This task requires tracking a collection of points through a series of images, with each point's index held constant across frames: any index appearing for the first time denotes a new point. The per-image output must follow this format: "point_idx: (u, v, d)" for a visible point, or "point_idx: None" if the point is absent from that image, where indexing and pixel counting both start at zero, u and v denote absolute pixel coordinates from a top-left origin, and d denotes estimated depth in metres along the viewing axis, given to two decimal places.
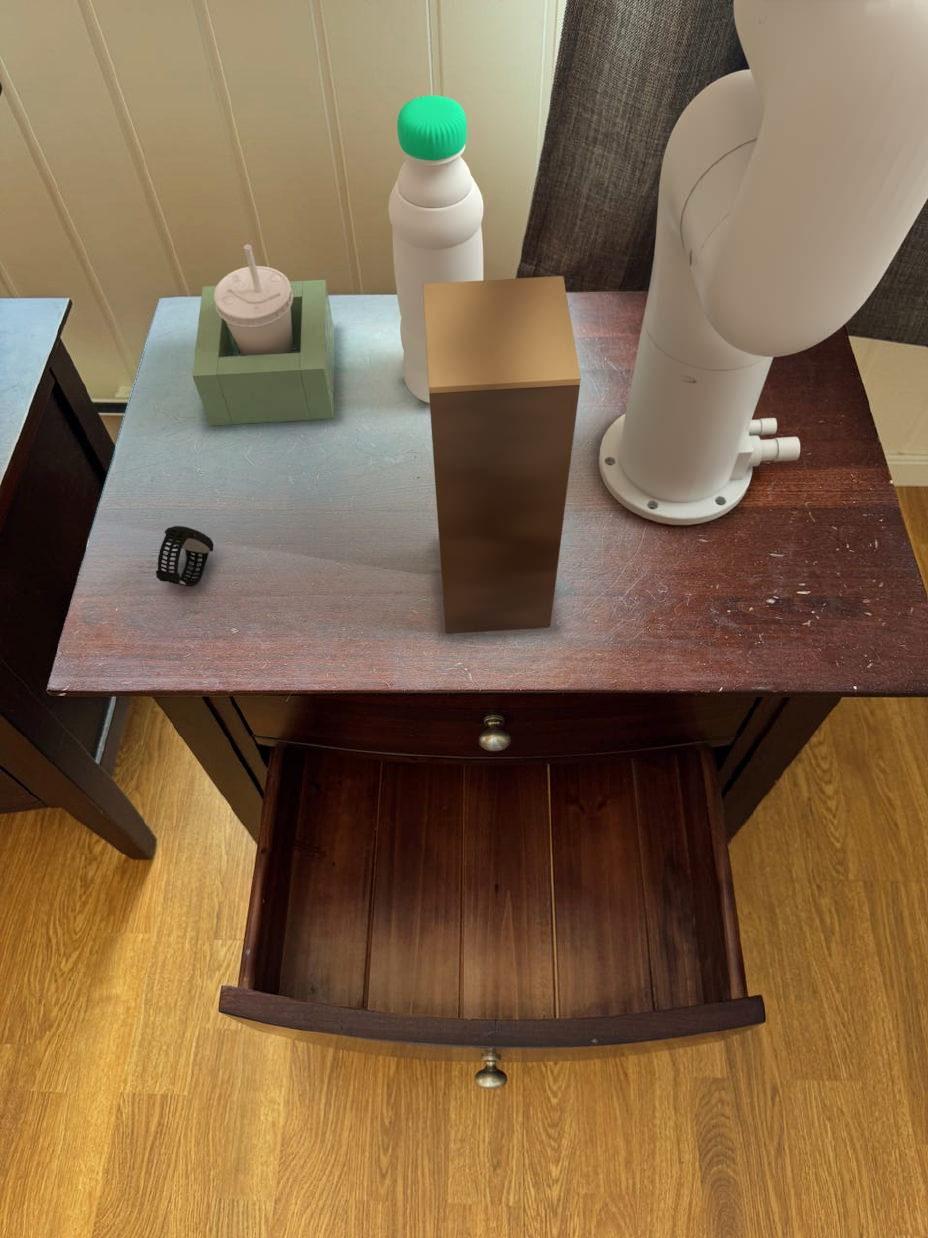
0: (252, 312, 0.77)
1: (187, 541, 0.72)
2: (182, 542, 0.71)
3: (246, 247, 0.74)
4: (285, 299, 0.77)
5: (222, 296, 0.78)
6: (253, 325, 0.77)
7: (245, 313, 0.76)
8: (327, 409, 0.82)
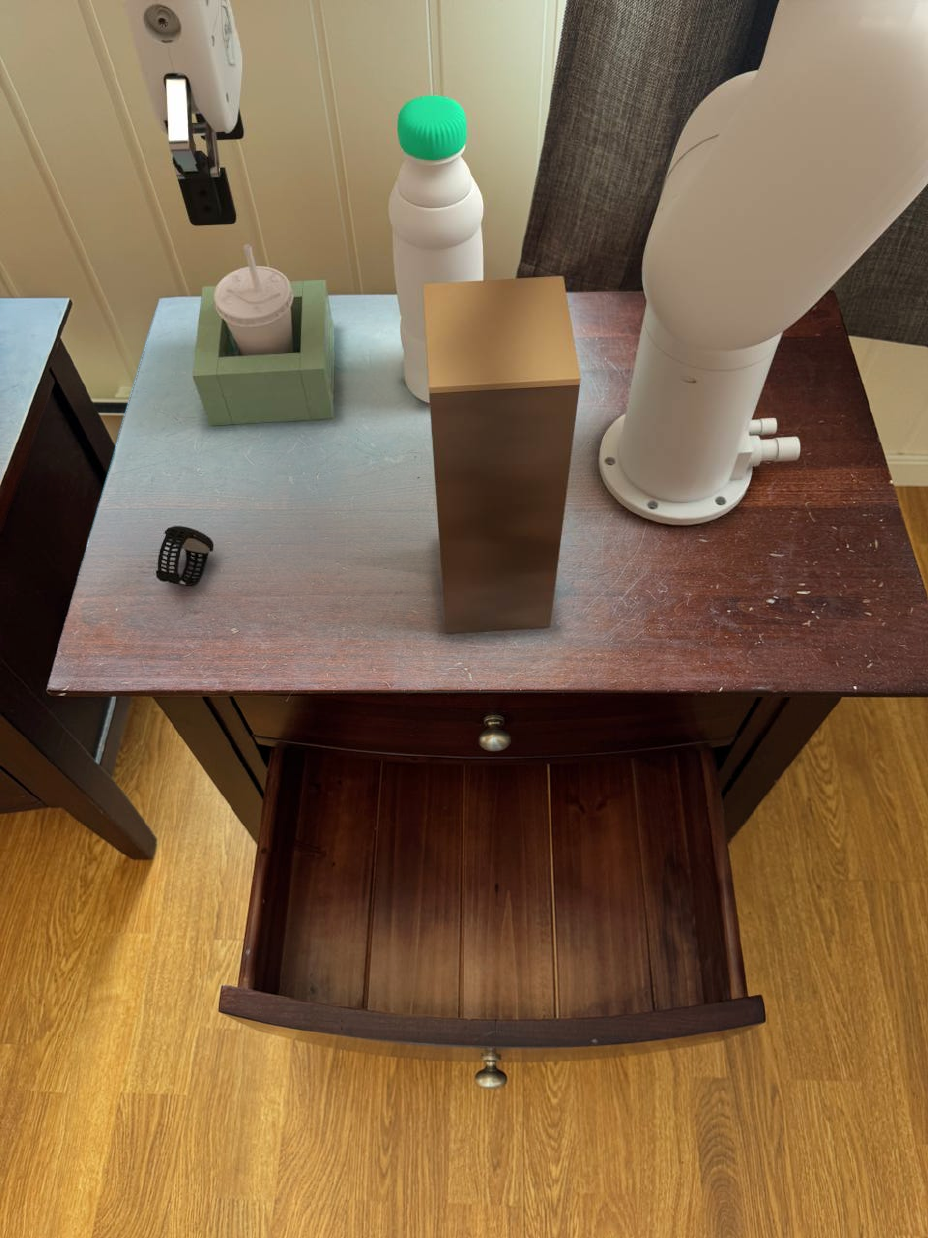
0: (252, 312, 0.77)
1: (187, 541, 0.72)
2: (182, 542, 0.71)
3: (246, 247, 0.74)
4: (285, 299, 0.77)
5: (222, 296, 0.78)
6: (253, 325, 0.77)
7: (245, 313, 0.76)
8: (327, 409, 0.82)
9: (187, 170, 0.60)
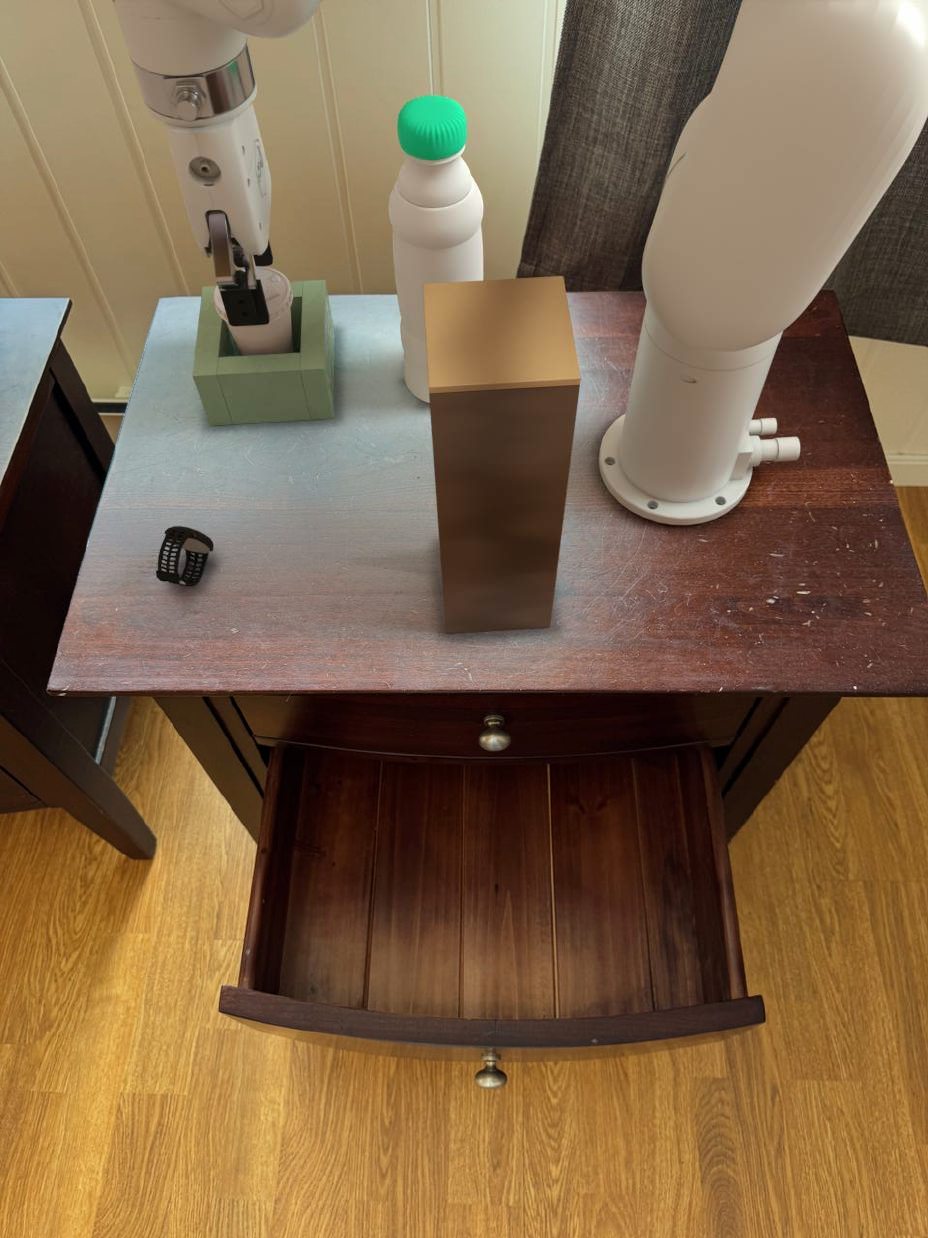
0: None
1: (187, 541, 0.72)
2: (182, 542, 0.71)
3: None
4: (285, 299, 0.77)
5: None
6: (253, 325, 0.77)
7: None
8: (327, 409, 0.82)
9: (229, 287, 0.70)
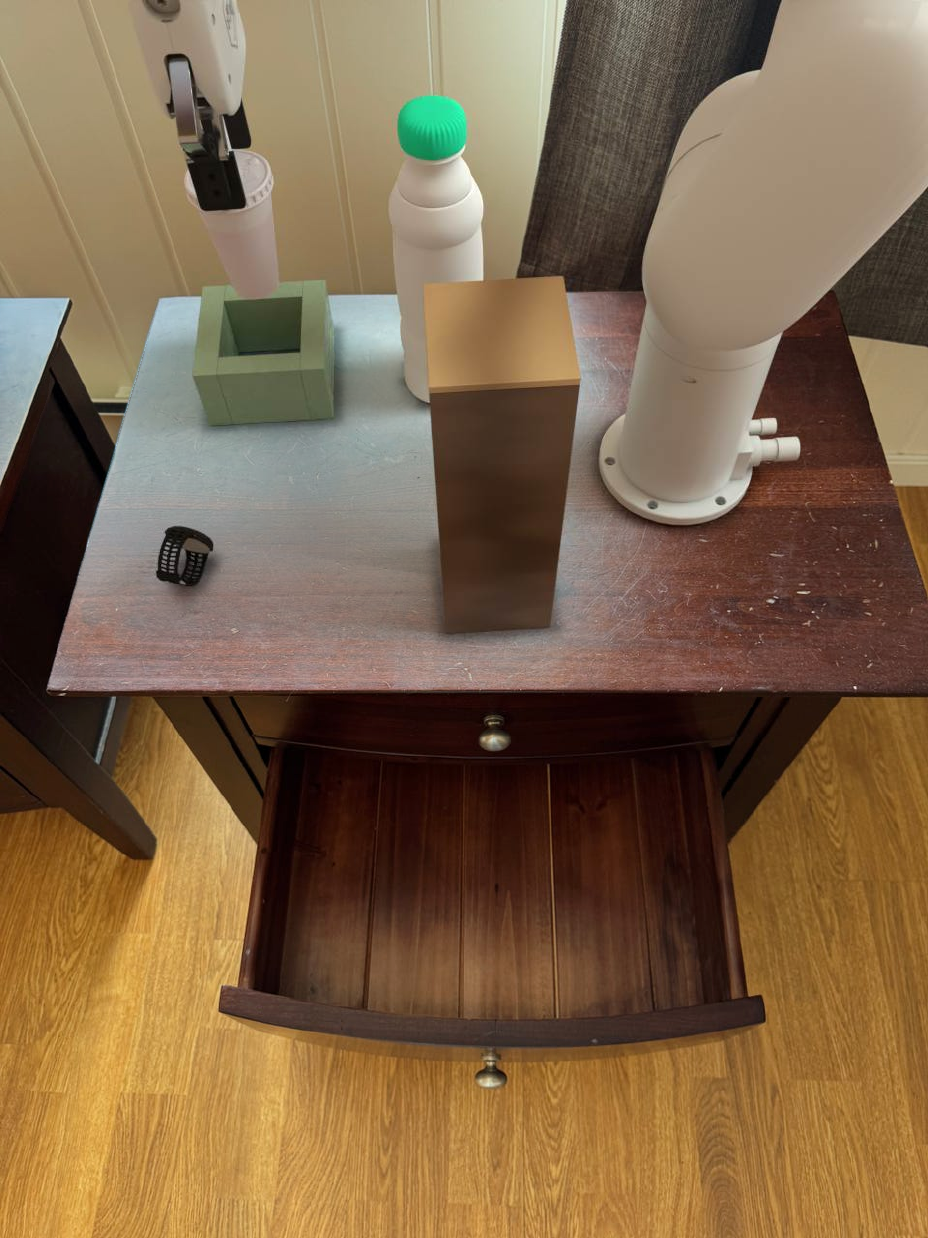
0: None
1: (187, 541, 0.72)
2: (182, 542, 0.71)
3: None
4: (264, 182, 0.68)
5: None
6: (228, 211, 0.68)
7: None
8: (327, 409, 0.82)
9: (196, 154, 0.61)
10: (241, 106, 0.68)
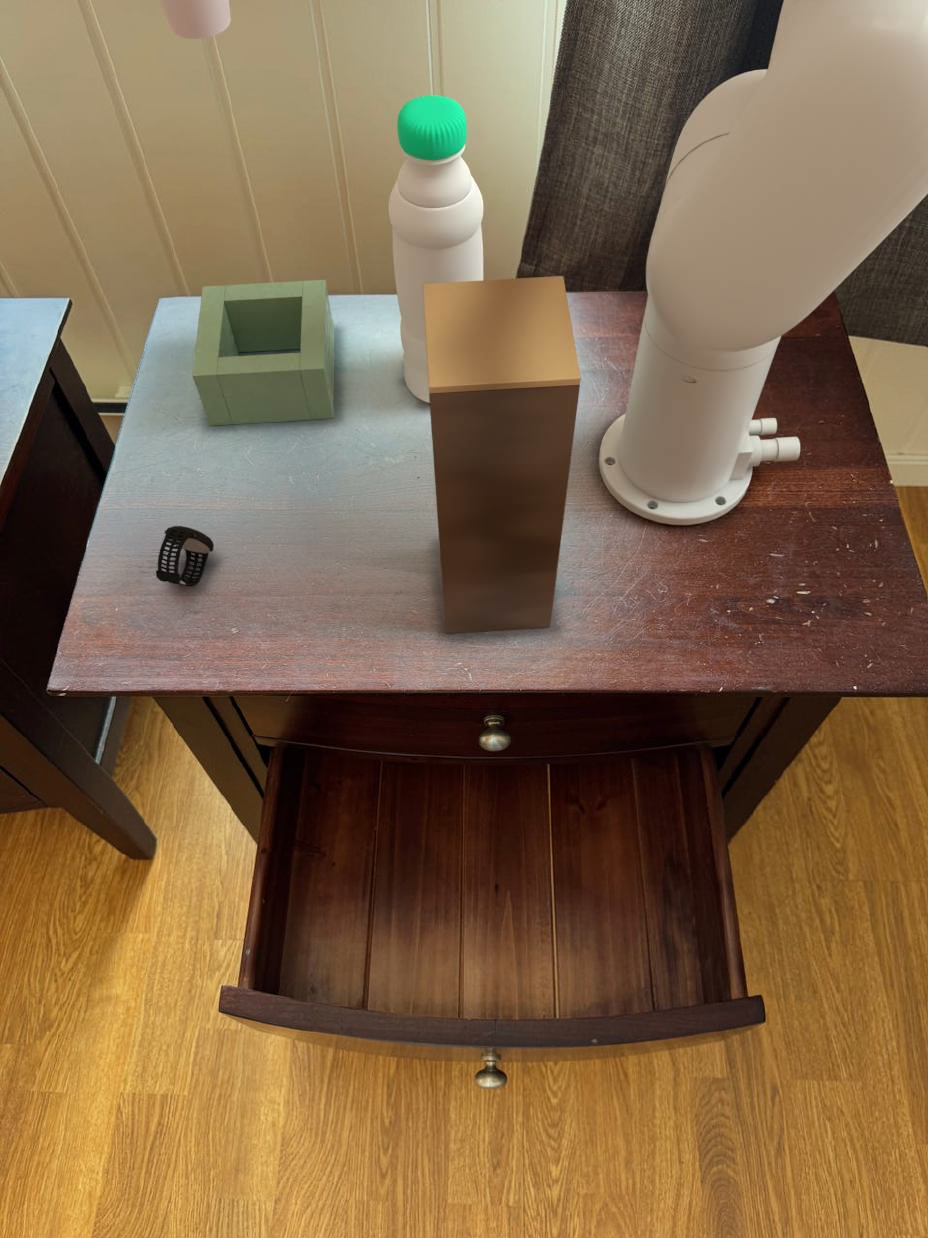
0: None
1: (187, 541, 0.72)
2: (182, 542, 0.71)
3: None
4: None
5: None
6: None
7: None
8: (327, 409, 0.82)
9: None
10: None
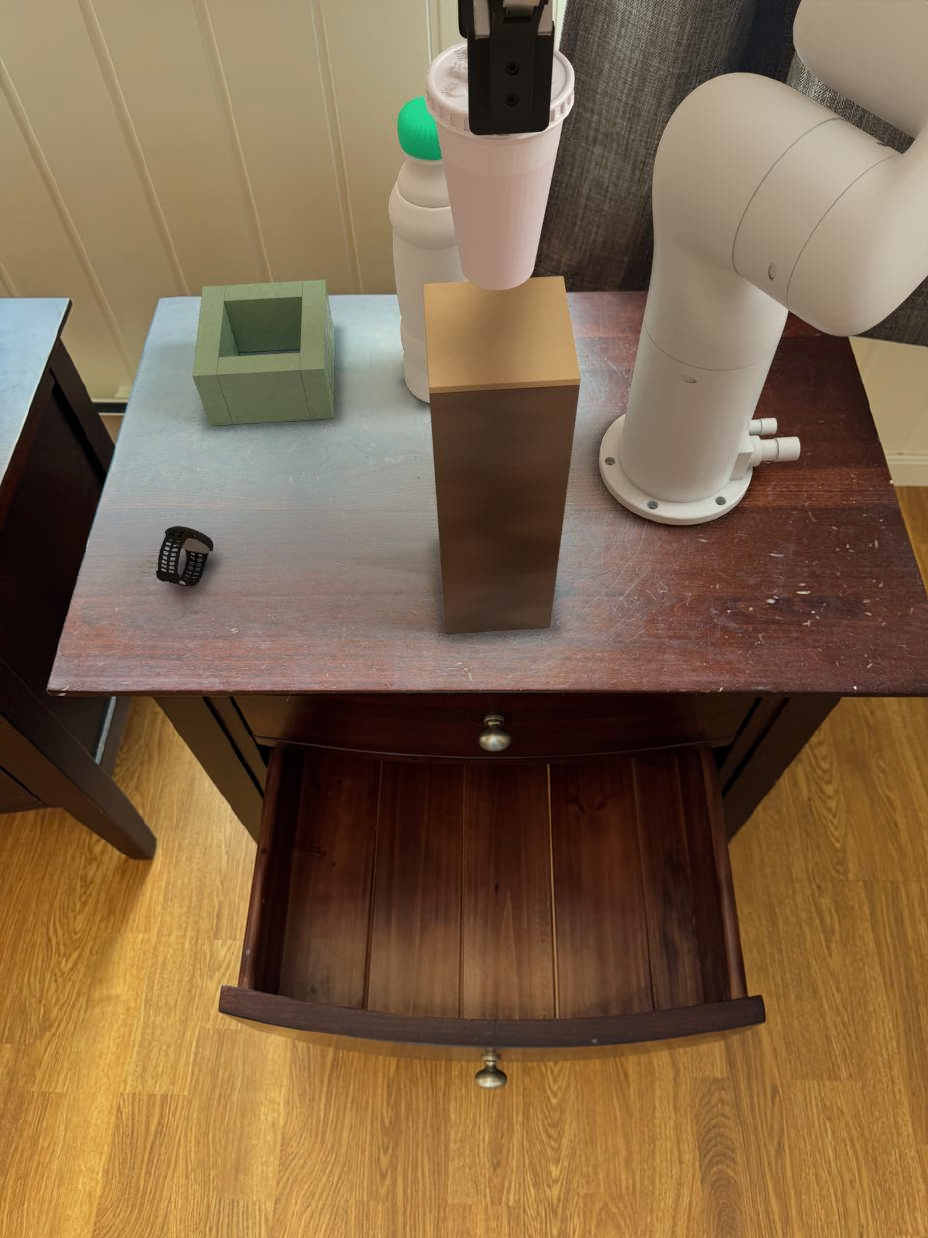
0: None
1: (187, 541, 0.72)
2: (182, 542, 0.71)
3: None
4: (568, 88, 0.39)
5: (442, 84, 0.40)
6: (508, 137, 0.39)
7: None
8: (327, 409, 0.82)
9: (513, 15, 0.32)
10: None
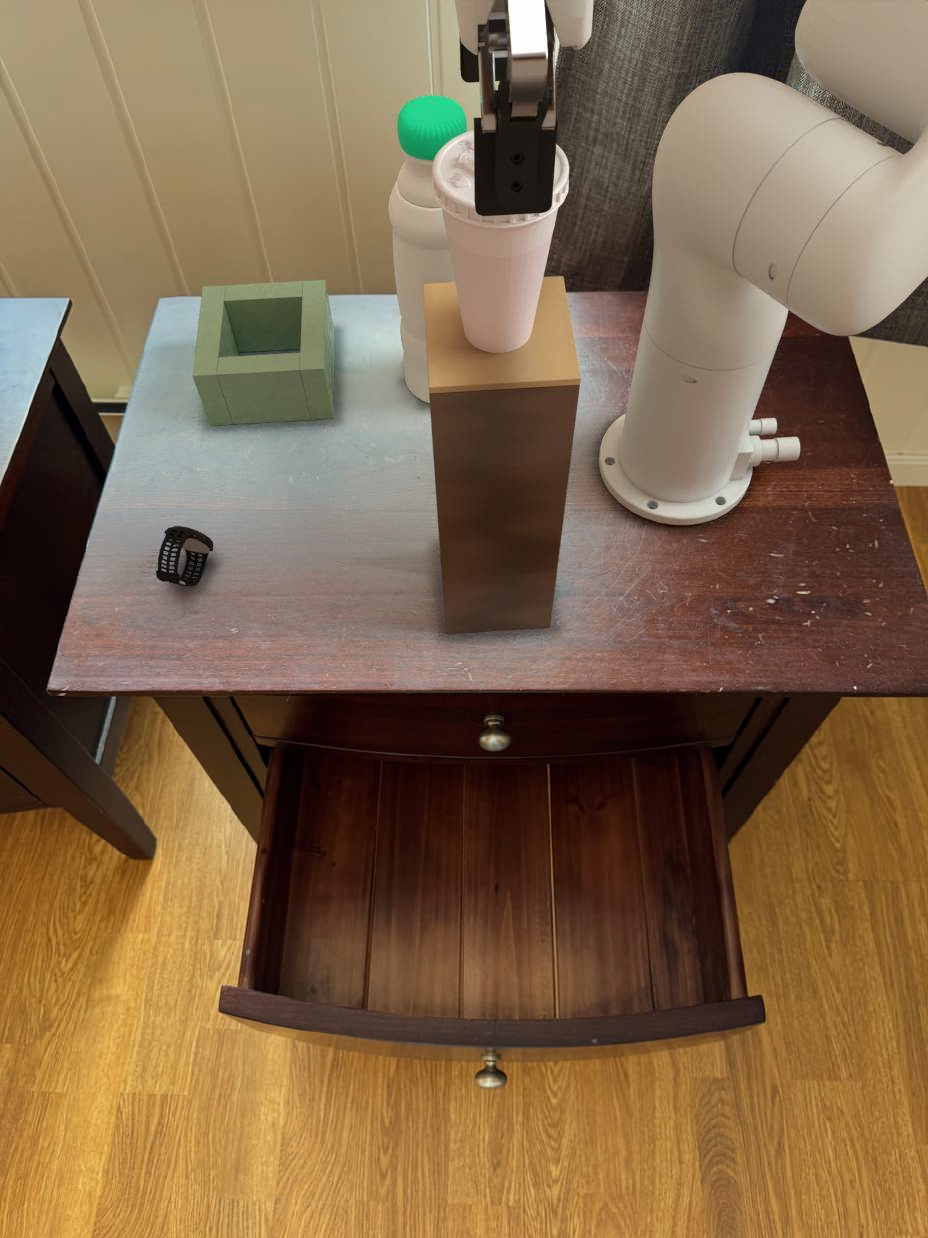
0: None
1: (187, 541, 0.72)
2: (182, 542, 0.71)
3: None
4: (563, 179, 0.43)
5: (448, 175, 0.43)
6: (508, 224, 0.43)
7: None
8: (327, 409, 0.82)
9: (519, 114, 0.34)
10: None
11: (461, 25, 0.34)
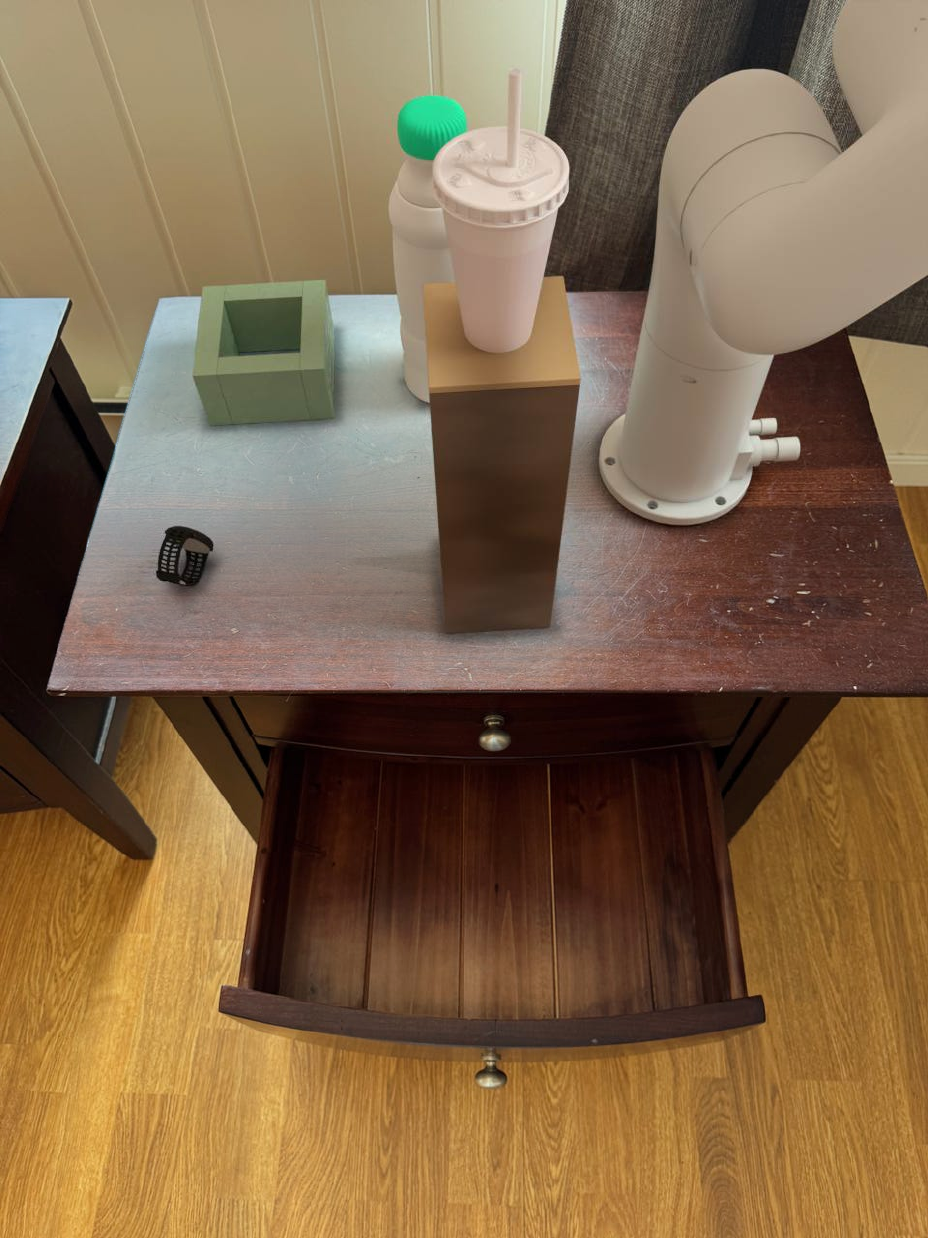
0: (508, 200, 0.42)
1: (187, 541, 0.72)
2: (182, 542, 0.71)
3: (513, 73, 0.40)
4: (563, 179, 0.43)
5: (448, 175, 0.43)
6: (508, 224, 0.43)
7: (495, 202, 0.42)
8: (327, 409, 0.82)
9: None
10: None
11: None
